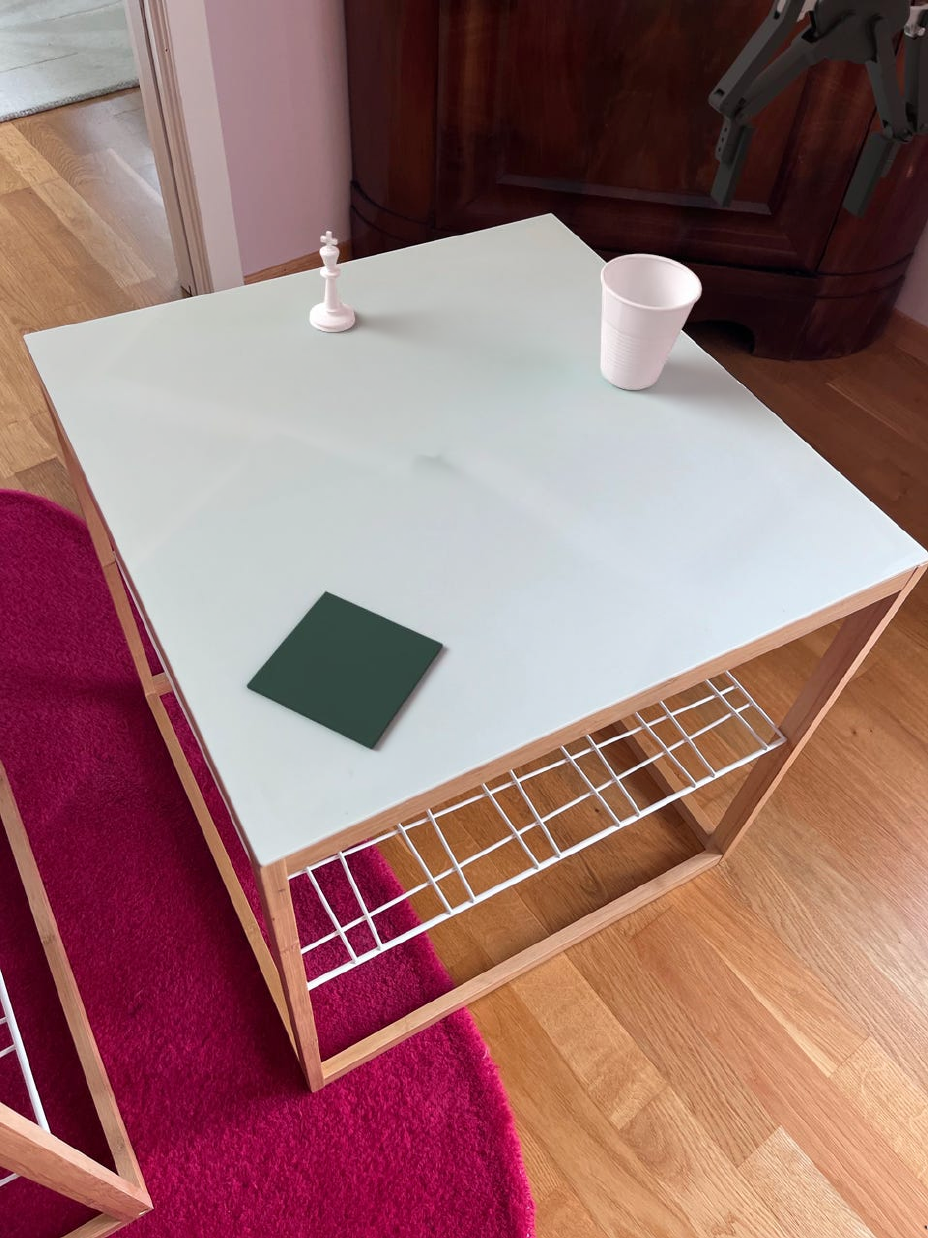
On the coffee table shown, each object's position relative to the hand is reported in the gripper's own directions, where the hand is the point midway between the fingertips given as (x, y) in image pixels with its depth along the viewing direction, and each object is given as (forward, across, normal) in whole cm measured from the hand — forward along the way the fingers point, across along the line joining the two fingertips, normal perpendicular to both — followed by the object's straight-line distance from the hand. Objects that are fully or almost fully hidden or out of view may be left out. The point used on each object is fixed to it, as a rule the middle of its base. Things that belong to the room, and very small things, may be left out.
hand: (787, 206), depth 86 cm
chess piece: (+21, +38, -17) cm, 47 cm away
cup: (+20, +9, -4) cm, 22 cm away
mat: (+27, +42, +30) cm, 58 cm away
